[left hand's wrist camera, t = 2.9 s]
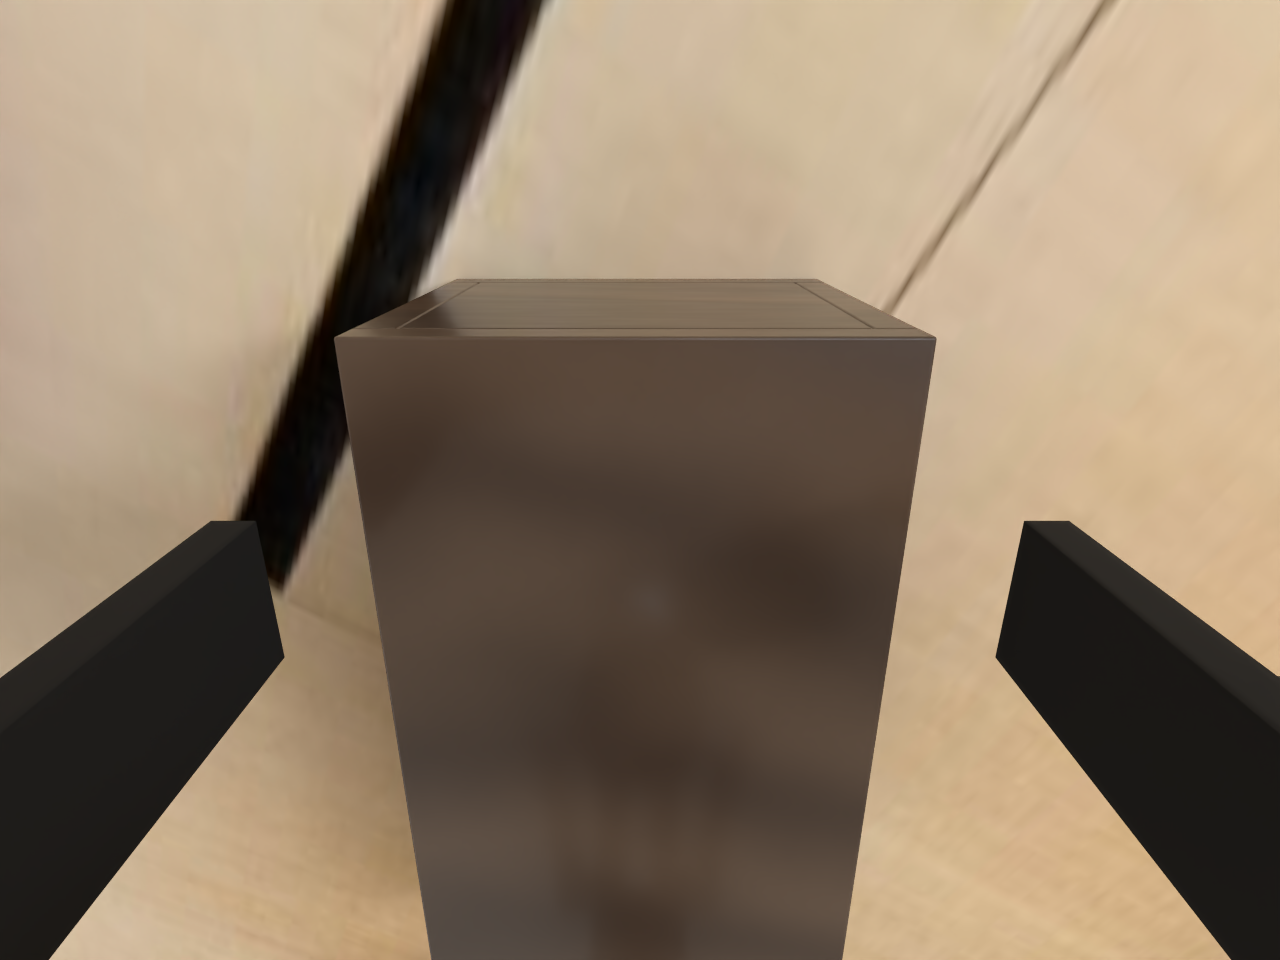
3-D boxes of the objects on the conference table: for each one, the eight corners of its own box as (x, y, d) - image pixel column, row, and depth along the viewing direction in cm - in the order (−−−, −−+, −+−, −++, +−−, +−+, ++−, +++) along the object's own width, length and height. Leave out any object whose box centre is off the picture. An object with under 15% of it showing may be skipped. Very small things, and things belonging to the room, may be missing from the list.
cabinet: (771, 807, 31) (826, 1066, 22) (504, 808, 31) (447, 1066, 22) (818, 279, 23) (938, 336, 13) (455, 279, 23) (332, 337, 13)
